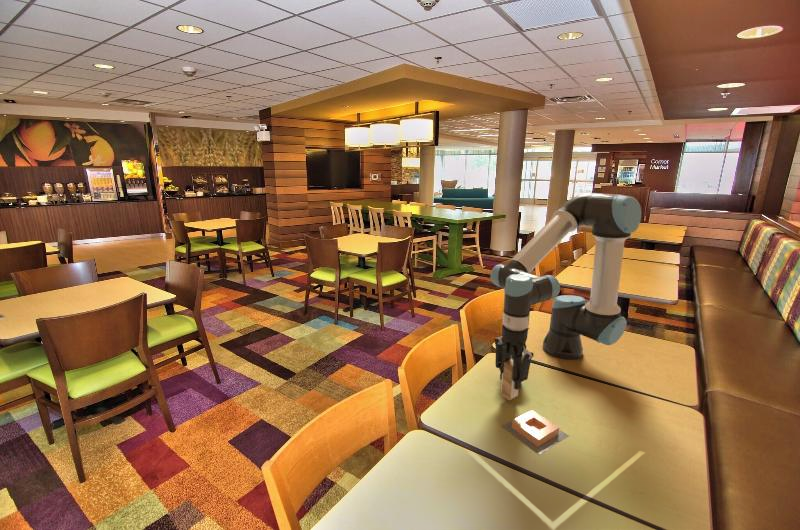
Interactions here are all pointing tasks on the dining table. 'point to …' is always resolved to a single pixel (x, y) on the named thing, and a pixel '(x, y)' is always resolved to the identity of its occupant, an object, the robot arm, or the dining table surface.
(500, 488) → the dining table surface
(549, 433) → the orange square frame
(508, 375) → the brown wooden block
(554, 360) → the dining table surface
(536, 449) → the plate
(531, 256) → the robot arm
